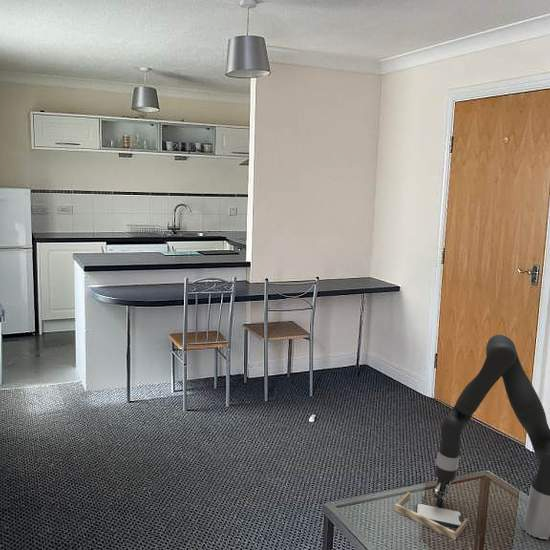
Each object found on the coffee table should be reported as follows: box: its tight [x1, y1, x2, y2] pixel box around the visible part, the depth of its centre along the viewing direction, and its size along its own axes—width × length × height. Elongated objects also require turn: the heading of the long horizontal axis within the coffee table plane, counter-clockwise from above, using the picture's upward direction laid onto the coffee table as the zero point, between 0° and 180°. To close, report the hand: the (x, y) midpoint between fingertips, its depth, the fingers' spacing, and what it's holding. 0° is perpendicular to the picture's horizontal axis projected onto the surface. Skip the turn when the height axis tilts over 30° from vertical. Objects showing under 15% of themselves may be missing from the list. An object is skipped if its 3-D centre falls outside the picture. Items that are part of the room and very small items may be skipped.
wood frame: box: [393, 491, 469, 541], centre depth 214 cm, size 23×11×2 cm, turn 53°
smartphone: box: [415, 503, 463, 529], centre depth 215 cm, size 9×2×16 cm
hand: (439, 505), depth 220 cm, fingers closed
